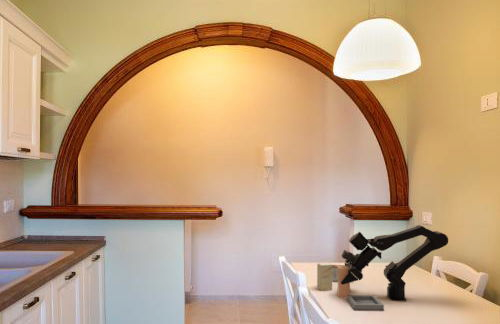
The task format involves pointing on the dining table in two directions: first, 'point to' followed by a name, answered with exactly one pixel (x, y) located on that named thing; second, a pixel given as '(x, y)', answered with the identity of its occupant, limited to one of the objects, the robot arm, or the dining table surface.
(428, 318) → the dining table surface
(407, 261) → the robot arm
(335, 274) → the tin
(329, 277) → the skincare box
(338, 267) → the peach square prism
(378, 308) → the tray
